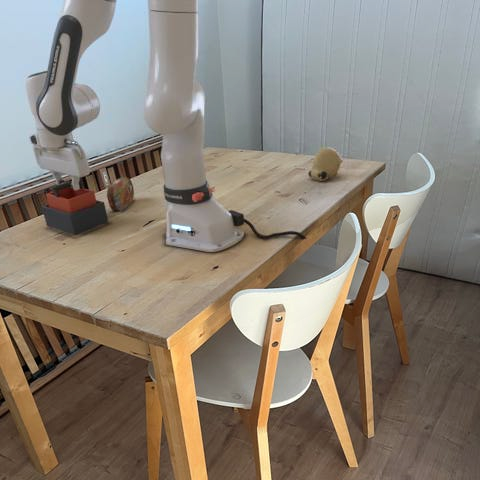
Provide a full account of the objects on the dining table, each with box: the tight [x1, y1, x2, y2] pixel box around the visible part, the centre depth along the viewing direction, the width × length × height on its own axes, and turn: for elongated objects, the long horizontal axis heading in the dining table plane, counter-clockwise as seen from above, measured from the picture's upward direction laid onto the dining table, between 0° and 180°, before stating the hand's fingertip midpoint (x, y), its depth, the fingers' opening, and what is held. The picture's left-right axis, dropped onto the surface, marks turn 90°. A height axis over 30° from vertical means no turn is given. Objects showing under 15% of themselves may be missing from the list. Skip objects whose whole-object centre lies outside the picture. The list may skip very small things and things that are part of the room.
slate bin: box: [41, 199, 109, 236], centre depth 144 cm, size 14×12×7 cm
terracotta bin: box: [45, 177, 97, 214], centre depth 142 cm, size 11×9×12 cm
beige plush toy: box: [307, 146, 343, 182], centre depth 169 cm, size 10×12×11 cm
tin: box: [106, 176, 135, 212], centre depth 156 cm, size 15×3×8 cm, turn 168°
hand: (68, 187), depth 140 cm, fingers open, 5 cm apart
